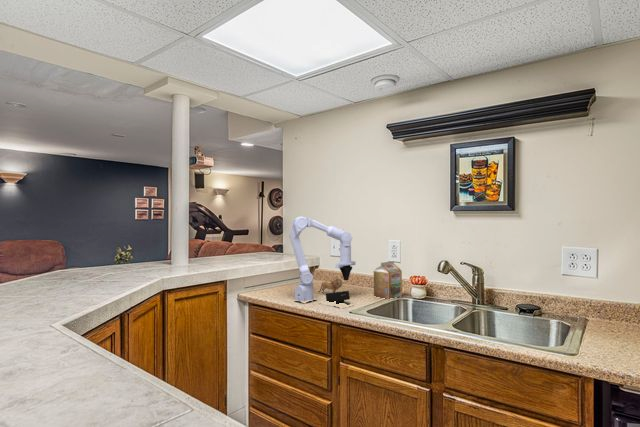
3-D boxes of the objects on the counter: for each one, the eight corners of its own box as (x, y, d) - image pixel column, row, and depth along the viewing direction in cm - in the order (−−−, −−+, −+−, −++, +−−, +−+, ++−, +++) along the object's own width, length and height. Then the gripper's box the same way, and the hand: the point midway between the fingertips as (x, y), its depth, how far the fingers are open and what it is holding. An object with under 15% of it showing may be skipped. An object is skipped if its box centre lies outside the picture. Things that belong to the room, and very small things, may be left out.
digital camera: (336, 302, 196) (326, 304, 192) (335, 292, 197) (325, 293, 193) (350, 301, 189) (339, 303, 184) (348, 290, 190) (338, 292, 185)
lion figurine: (343, 294, 212) (343, 278, 212) (340, 295, 207) (340, 279, 207) (319, 292, 218) (318, 276, 218) (315, 294, 213) (315, 278, 213)
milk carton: (389, 300, 195) (388, 263, 195) (374, 297, 203) (373, 261, 203) (402, 297, 202) (401, 261, 202) (386, 294, 210) (386, 260, 210)
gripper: (342, 256, 192) (343, 282, 192) (359, 253, 203) (360, 278, 203) (332, 255, 197) (332, 281, 197) (349, 252, 208) (350, 277, 208)
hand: (346, 280), depth 200 cm, fingers closed
